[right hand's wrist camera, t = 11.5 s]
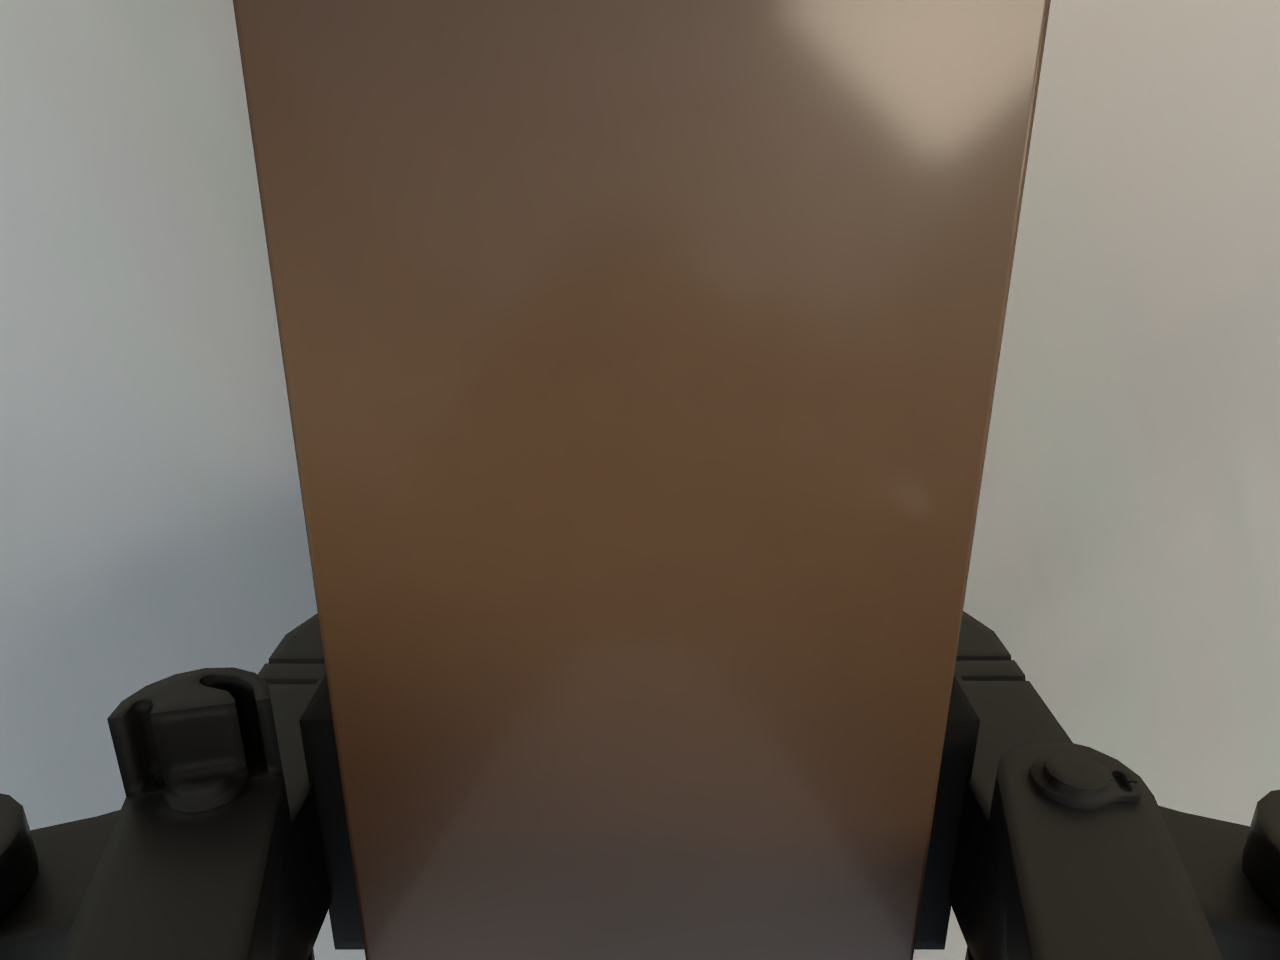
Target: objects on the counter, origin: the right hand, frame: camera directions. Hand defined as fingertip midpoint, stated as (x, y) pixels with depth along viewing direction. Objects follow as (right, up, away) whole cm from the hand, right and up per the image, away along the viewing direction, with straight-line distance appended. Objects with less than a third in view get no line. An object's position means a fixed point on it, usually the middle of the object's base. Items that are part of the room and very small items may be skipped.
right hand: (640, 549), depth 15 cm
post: (0, +23, -8) cm, 24 cm away
